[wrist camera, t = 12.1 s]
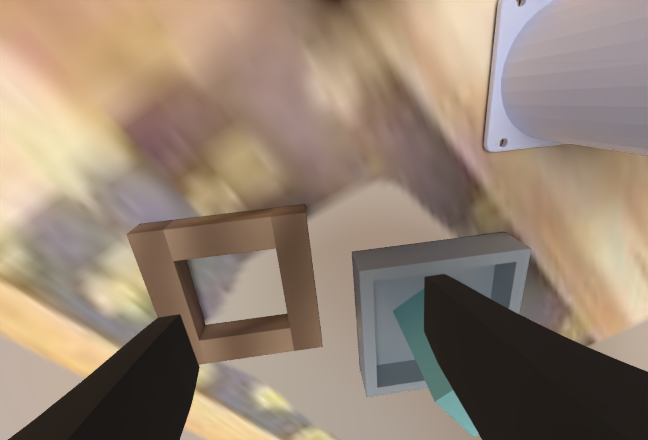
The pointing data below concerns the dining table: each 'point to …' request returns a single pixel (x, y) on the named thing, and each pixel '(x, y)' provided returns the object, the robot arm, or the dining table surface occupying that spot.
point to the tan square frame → (220, 239)
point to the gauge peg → (430, 360)
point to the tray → (408, 279)
